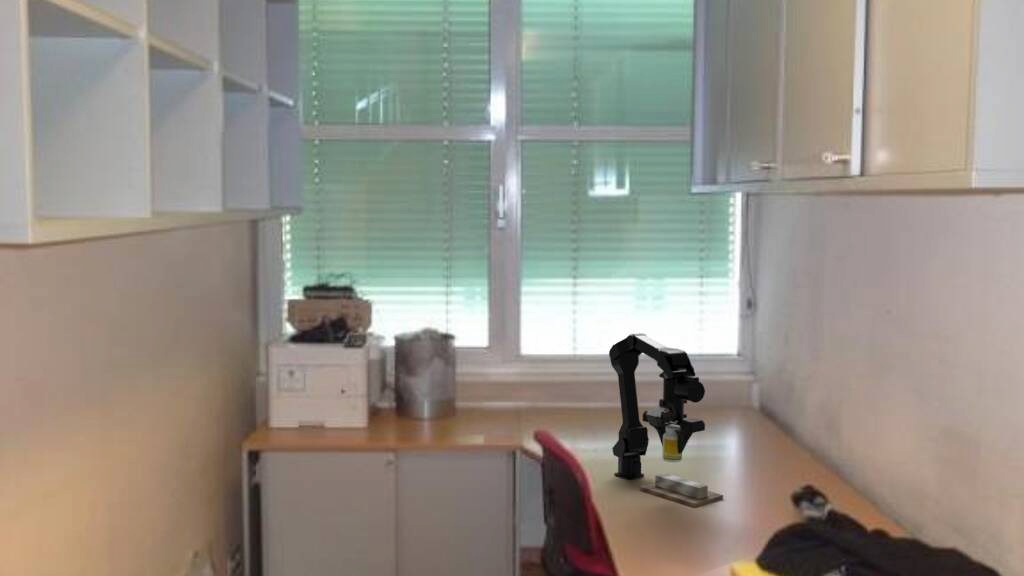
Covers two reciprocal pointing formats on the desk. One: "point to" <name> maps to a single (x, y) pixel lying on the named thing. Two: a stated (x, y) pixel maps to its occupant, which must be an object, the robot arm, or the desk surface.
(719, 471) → the desk surface
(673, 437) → the supplement bottle
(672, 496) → the ridge board
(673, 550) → the desk surface
